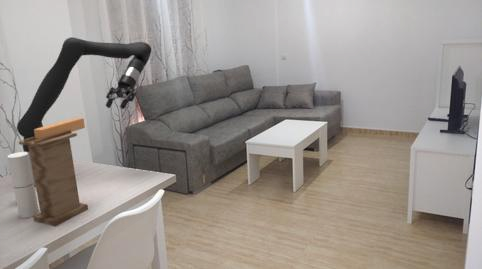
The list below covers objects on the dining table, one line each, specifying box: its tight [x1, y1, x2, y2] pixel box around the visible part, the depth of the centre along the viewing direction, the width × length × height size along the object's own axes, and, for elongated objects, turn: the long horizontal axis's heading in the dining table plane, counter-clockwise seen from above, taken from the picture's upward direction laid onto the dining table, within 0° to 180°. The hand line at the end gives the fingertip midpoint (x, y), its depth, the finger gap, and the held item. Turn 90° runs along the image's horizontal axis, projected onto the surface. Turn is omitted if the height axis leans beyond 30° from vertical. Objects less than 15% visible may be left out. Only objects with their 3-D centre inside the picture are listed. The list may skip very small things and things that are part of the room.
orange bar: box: [34, 117, 86, 140], centre depth 159 cm, size 4×20×4 cm, turn 154°
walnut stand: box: [18, 130, 89, 227], centre depth 158 cm, size 12×16×33 cm
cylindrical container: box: [7, 151, 40, 219], centre depth 162 cm, size 7×7×25 cm
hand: (114, 107), depth 184 cm, fingers open, 8 cm apart
